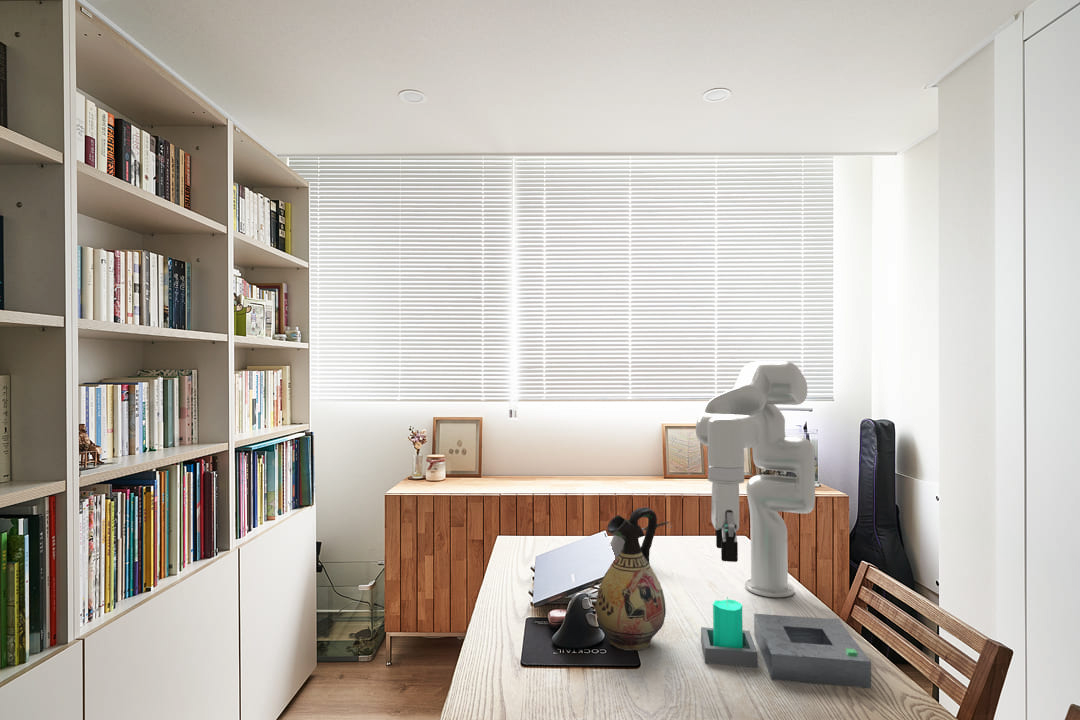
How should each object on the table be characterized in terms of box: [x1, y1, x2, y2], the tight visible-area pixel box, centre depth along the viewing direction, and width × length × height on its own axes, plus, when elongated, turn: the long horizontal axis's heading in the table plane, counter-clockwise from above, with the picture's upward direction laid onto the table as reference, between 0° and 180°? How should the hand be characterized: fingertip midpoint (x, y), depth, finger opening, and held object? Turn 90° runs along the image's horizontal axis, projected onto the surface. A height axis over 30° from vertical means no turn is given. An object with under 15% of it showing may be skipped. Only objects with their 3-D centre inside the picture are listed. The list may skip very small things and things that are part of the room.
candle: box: [712, 596, 744, 649], centre depth 128 cm, size 6×6×12 cm
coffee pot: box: [609, 518, 672, 559], centre depth 188 cm, size 21×12×15 cm, turn 54°
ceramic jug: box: [595, 507, 667, 651], centre depth 134 cm, size 17×15×30 cm
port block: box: [753, 613, 872, 689], centre depth 125 cm, size 20×18×6 cm
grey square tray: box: [700, 626, 759, 668], centre depth 128 cm, size 10×10×3 cm
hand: (726, 554), depth 128 cm, fingers open, 9 cm apart
